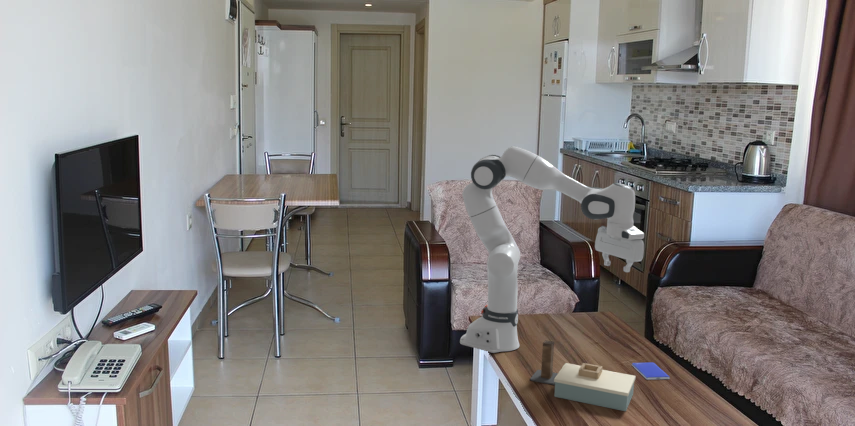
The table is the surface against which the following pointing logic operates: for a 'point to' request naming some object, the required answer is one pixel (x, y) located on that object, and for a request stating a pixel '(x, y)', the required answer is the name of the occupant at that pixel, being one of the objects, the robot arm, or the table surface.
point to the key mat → (538, 378)
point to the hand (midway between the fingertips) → (616, 268)
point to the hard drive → (650, 371)
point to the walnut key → (547, 359)
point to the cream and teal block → (594, 386)
